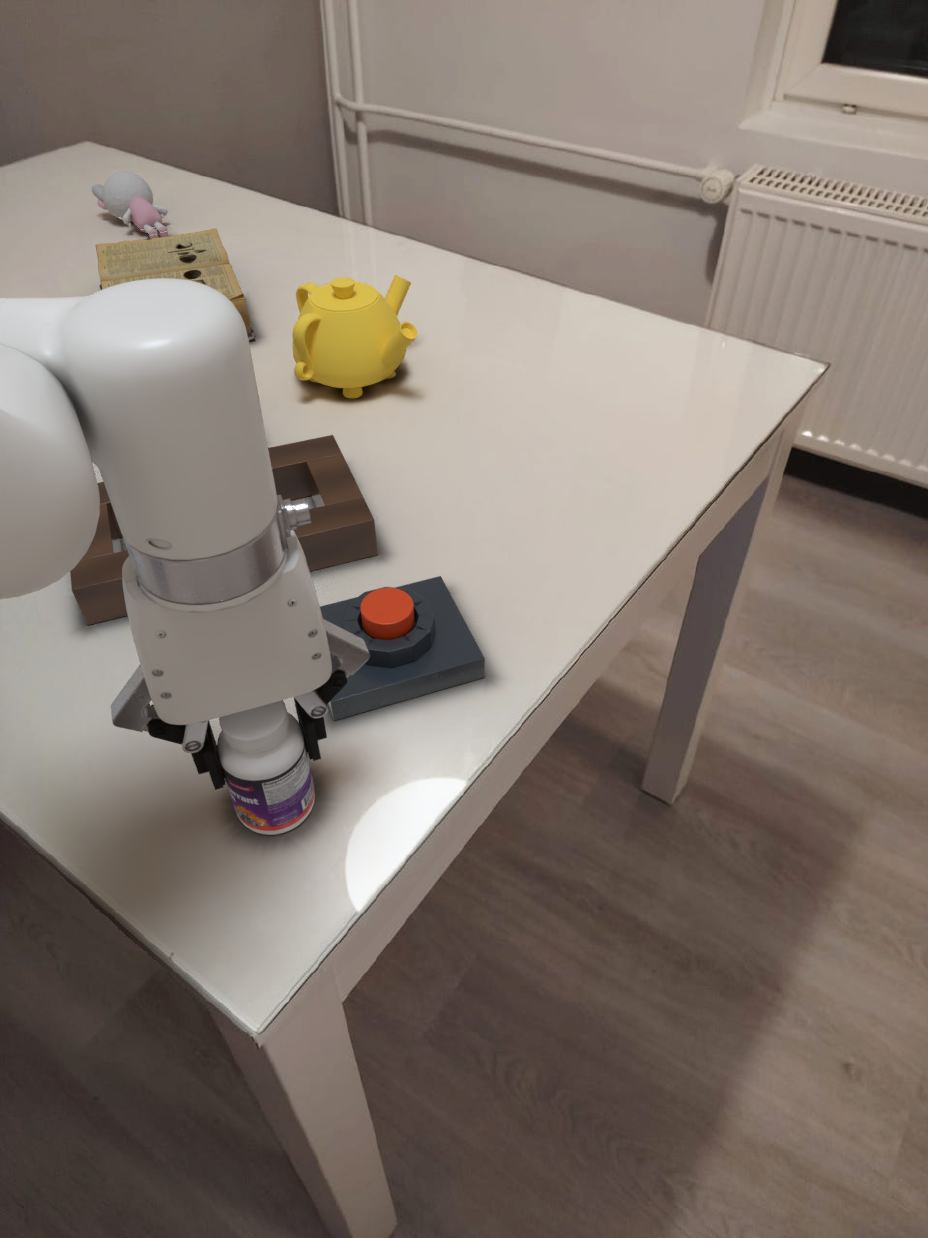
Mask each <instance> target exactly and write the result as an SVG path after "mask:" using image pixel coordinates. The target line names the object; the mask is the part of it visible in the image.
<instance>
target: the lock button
mask: <svg viewBox="0 0 928 1238" xmlns="http://www.w3.org/2000/svg"><path fill="white" fill-rule="evenodd" d="M381 588H382V589H379V588H377V589H378V590H375V589H374V590H375V591H373V592H371V593H369V594H368V595H367V596H365V598H364V599H363V600H362V603H361V606H360V610H361V618H362V626H363V628H364V630H365V631H366V633H367V634H369V635H370V636H372V637H373V638H376V639H383V640H392V639H396V638H400V637H403V636H404V635H406V634H407V633H408V632H409V631H410V630H411V629H412V627H413V625H414V604H413V600H412V598H411V597H410V596H409V595H408V594H407V593H406V592H404V591H402V590H400V589H396V588H395V587H394V588H383V587H381Z"/></svg>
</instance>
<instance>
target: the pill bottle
mask: <svg viewBox="0 0 928 1238" xmlns="http://www.w3.org/2000/svg"><path fill="white" fill-rule="evenodd" d="M218 721H219V726H220V729H221V730H220V732H219V735H218V738H217V741H216V744H217V754H218V759H219V762H220V765H221V768H222V771H223V774H224V778H225V783H226V787H227V790H228V792H229V793H228V794H229V796H230V798H231V802H232V805H233V809H234V811H235V813H236V816H237V818H238V820H240V822H241V823H242V824H243V825H244V826H245V827H246V828H248V829H249V830H251V831H252V832H255V833H257V834H259V835H260V834H261V835H270V836H271V835H272V836H273V835H280V834H283V833H287V832H289V831H292V830H293V829H295V828H297V827H298V826H299V825H301V824H302V823H303V822H304V821H305V820H306V819H307V818H308V816H309V815H310V814H311V812H312V810H313V807H314V804H315V801H316V800H315V798H316V792H315V783H314V779H313V775H312V770H311V764H310V759H309V756H308V753H307V749H306V744H305V738H304V734H303V731H302V728H301V726H300V724H299V721H298V719H297V718H296V717H295V716H293V715H292V713H290V712H288V710H287V706H286V704H285V701H284V700H281V701H278V702H274V703H271V704H267V705H263V706H260V707H256V708H252V709H249V710H245V711H241V712H237V713H234V714H230V715H226V716H222V717H218Z"/></svg>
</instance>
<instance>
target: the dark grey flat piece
mask: <svg viewBox="0 0 928 1238" xmlns="http://www.w3.org/2000/svg"><path fill="white" fill-rule="evenodd" d="M382 588H396V589H400V590H402V591H404V592H406V593H407V594H408V595H409V596H410V597H411V598H412V600H413V604H414V625H413V627H412V629H411V630H410V631H409V632H408V633H407V634H406V635H404V636H403V637H400V638H396V639H392V640H383V639H376V638H373V637H372V636H370V635H369V634H367V633H366V631H365V630H364V628H363V626H362V618H361V610H360V606H361V603H362V600H363V599H364V598H365V596H367V595H368V594H369V593H371V592H373V591H375V590H378V589H382ZM320 609H321V613H322V618H323V619H324V620H326V621H328V622H330V623H332V624H334V625H336V626H338V627H340V628H342V629H344V630H346V631H348V632H350V633H352V634H354V635H356V636H358V637H360V638H362V639H363V640H364V641H365V643H366V646H367V648H368V651H369V653H370V658H369V660H368V661H367V662H366V663H365V664H364V665H363V666H362V667H361V668H359V669H358V670H357V671H356V672H355V673H354V674H353V675H350V676H349V677H348V678H347V684H346V685H345V686H344V687H343V688H342V689H341V690H340V691H339V692H338V693H337V694H336V696H335V697H334V698H333V699H332V700H331V701H330V702H329V703H328V704H327V706H328V709H329V711H330V715H331V717H332V720H333V721H334V722H336V721H338V720H342V719H346V718H348V717H352V716H356V715H359V714H362V713H365V712H369V711H372V710H377V709H380V708H383V707H386V706H390V705H393V704H397V703H401V702H404V701H408V700H411V699H414V698H418V697H422V696H424V695H428V694H432V693H435V692H438V691H442V690H445V689H449V688H452V687H456V686H459V685H464V684H466V683H469V682H474V681H477V680H480V679H484V678H485V677H486V676H485V674H486V673H485V672H486V671H485V670H486V669H485V667H486V658H485V656H484V654H483V652H482V650H481V649H480V647H479V645H478V643H477V641H476V639H475V637H474V635H473V634H472V631H471V630H470V628H469V625H468V624H467V622H466V621H465V618H464V617H463V615H462V612H461V611H460V609H459V607H458V606H457V604H456V601H455V600H454V598H453V596H452V594H451V592H450V591H449V588H448V587H447V584H446V583H445V581H444V579H443V578H442V575H438V576H435V577H431V578H427V579H423V580H419V581H415V582H410V583H406V584H403V585H399V586H395V587H392V586H383V587H379V588H375V589H371V590H367V591H363V592H362V593H361V594H359V596H356V597H353V598H352V597H351V598H348V599H345V600H340V601H335V602H332V603H329V604H324V605H320ZM330 656H331V658H332V657H333V654H331V653H330Z"/></svg>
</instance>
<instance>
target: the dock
mask: <svg viewBox="0 0 928 1238" xmlns="http://www.w3.org/2000/svg"><path fill="white" fill-rule="evenodd" d="M268 450H269V456H270V461H271V467H272V472H273V477H274V482H275V488H276V494H277V495H281V497H282V499H283V500H286V499H290V500H291V501H294V500H299V499H304V498H307V497H311V498H312V500H313V503H314V505H315V507H313V508H309V512H310V518H311V524H307V525H302V526H297V529H295V530H293V531H294V532H295V534H296V536H297V538H298V540H299V542H300V545H301V547H302V549H303V552H304V555H305V557H306V561H307V564H308V567H309V571H310V572H313V571H317V570H321V569H325V568H330V567H334V566H338V565H342V564H346V563H351V562H355V561H358V560H363V559H366V558H371V557H375V556H378V555H379V552H378V551H379V550H378V541H377V532H376V531H377V530H376V521H375V520H376V519H375V518H374V516H373V514H372V511H371V509H370V508H369V506H368V503H367V502H366V500H365V498H364V495H363V493H362V491H361V489H360V487H359V485H358V483H357V481H356V479H355V477H354V475H353V472H352V471H351V468H350V467H349V464H348V463H347V461H346V458H345V456H344V454H343V453H342V450H341V448H340V446H339V444H338V442H337V440H336V438H335V436H334V434H330V435H325V436H320V437H315V438H310V439H304V440H301V441H295V442H291V443H285V444H281V445H276V446H271V447H268ZM97 483H98V488H99V496H100V515H99V519H98V524H97V529H96V533H95V536H94V538H93V540H92V542H91V545H90V547H89V549H88V551H87V552H86V554H85V555H84V556H83V557H82V559H81V560H80V561H79V562H78V564H77V565H76V566H75V568H74V569H72V570H71V571H70V572H69V574H70V585H71V592H72V594H73V597H74V599H75V601H76V603H77V605H78V608H79V610H80V613H81V615H82V616H83V619H84V621H85V623H86V626H91V625H95V624H99V623H103V622H108V621H111V620H117V619H119V618H120V619H121V618H124V617H128V614H127V610H126V604H125V598H124V591H123V582H122V567H123V564H124V562H125V560H126V559H127V557H128V556H129V553H128V550H127V549H125V550H122V545H121V539H123V536H122V533H121V530H120V528H119V525H118V522H117V519H116V516H115V513H114V510H113V507H112V505H111V502H110V499H109V496H108V493H107V490H106V487H105V485H104V482H103V481H100V482H97Z"/></svg>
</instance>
